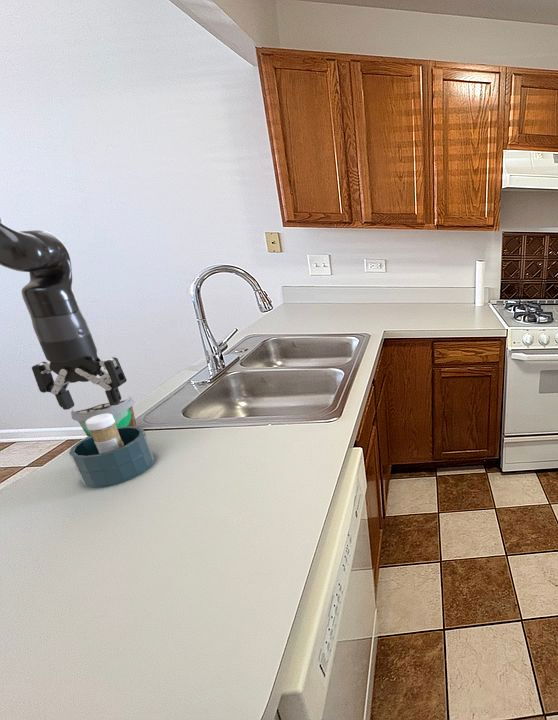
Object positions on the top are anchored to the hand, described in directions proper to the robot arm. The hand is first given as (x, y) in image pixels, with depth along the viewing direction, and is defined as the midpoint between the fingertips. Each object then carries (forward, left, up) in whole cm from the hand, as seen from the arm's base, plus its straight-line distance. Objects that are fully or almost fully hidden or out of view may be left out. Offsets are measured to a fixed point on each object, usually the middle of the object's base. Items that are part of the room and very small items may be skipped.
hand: (92, 405), depth 86 cm
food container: (-9, +15, -17) cm, 25 cm away
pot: (0, 0, -17) cm, 17 cm away
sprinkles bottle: (0, 0, -17) cm, 17 cm away
